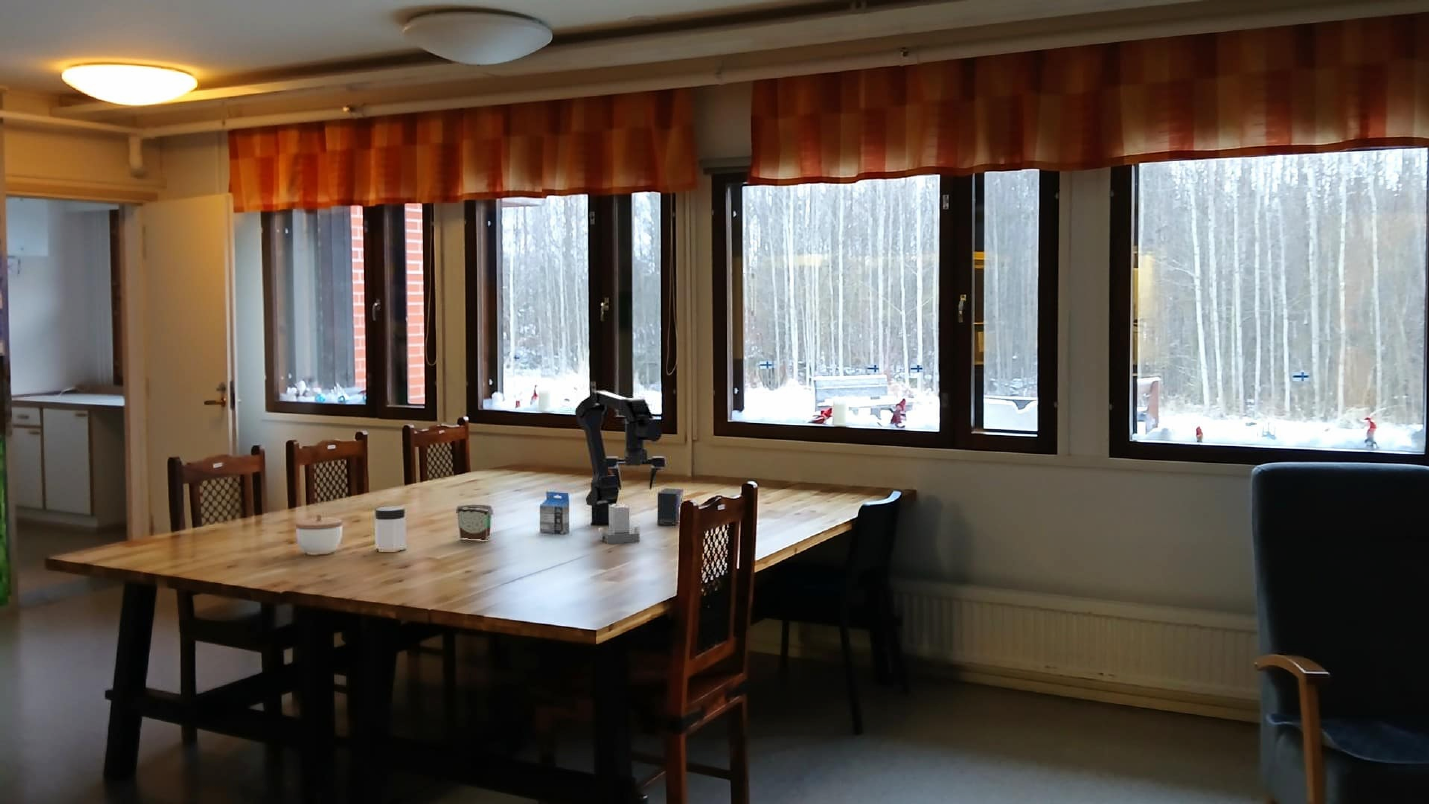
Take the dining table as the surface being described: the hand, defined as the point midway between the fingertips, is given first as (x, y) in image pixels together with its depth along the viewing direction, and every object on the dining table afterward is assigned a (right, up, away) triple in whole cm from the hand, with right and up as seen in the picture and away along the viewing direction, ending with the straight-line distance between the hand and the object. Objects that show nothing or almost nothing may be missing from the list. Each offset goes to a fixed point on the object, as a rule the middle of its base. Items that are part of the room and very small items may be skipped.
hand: (635, 489), depth 368 cm
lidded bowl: (-87, -16, -30) cm, 94 cm away
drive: (-4, -14, -11) cm, 19 cm away
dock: (-4, -14, -11) cm, 18 cm away
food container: (-46, -14, -10) cm, 49 cm away
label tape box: (-25, -13, 0) cm, 28 cm away
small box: (+10, -12, +16) cm, 22 cm away
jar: (-68, -16, -26) cm, 75 cm away
